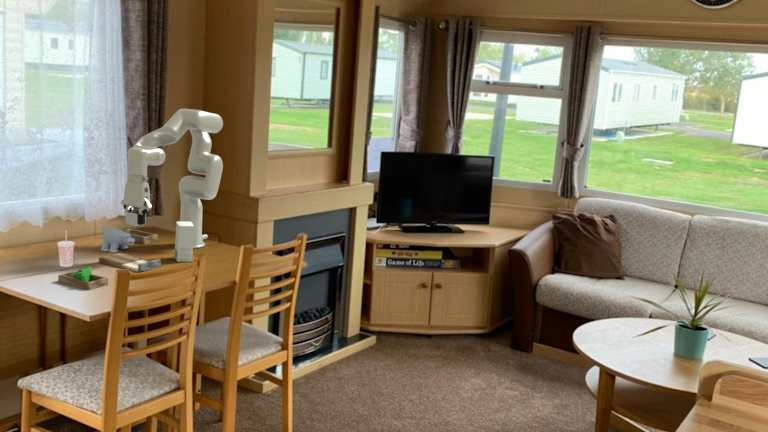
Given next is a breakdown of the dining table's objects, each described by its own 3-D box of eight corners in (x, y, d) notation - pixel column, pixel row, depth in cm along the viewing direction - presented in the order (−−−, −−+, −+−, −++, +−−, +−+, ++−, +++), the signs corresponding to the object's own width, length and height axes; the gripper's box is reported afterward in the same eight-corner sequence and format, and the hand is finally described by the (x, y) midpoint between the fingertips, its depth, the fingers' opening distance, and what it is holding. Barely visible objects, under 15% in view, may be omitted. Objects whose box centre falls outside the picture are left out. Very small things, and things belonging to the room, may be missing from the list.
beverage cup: (58, 267, 293) (58, 232, 290) (57, 263, 298) (56, 228, 296) (75, 266, 296) (75, 231, 293) (73, 262, 301) (73, 228, 299)
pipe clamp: (80, 278, 281) (80, 266, 280) (91, 278, 282) (91, 266, 281) (73, 287, 270) (73, 275, 269) (84, 287, 271) (84, 275, 270)
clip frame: (130, 235, 353) (130, 228, 353) (157, 241, 347) (157, 234, 346) (116, 238, 346) (116, 231, 345) (144, 244, 339) (144, 237, 338)
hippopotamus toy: (126, 254, 320) (126, 232, 318) (94, 249, 323) (94, 228, 321) (140, 249, 330) (140, 227, 328) (109, 244, 334) (110, 223, 332)
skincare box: (174, 257, 321) (175, 221, 318) (190, 256, 324) (191, 221, 321) (177, 262, 314) (178, 225, 311) (193, 261, 316) (194, 225, 314)
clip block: (135, 222, 310) (135, 207, 309) (145, 224, 308) (146, 209, 307) (125, 224, 305) (126, 209, 304) (136, 226, 303) (136, 211, 302)
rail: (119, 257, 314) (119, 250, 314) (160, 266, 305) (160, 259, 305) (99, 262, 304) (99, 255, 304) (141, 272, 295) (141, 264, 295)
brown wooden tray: (76, 276, 283) (76, 270, 283) (107, 284, 277) (108, 278, 276) (58, 281, 275) (58, 275, 275) (89, 289, 269) (89, 283, 269)
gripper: (160, 180, 304) (158, 225, 307) (127, 175, 310) (125, 218, 314) (147, 182, 297) (145, 227, 300) (113, 176, 304) (112, 221, 307)
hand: (135, 222), depth 307 cm, fingers closed on clip block, 5 cm apart
